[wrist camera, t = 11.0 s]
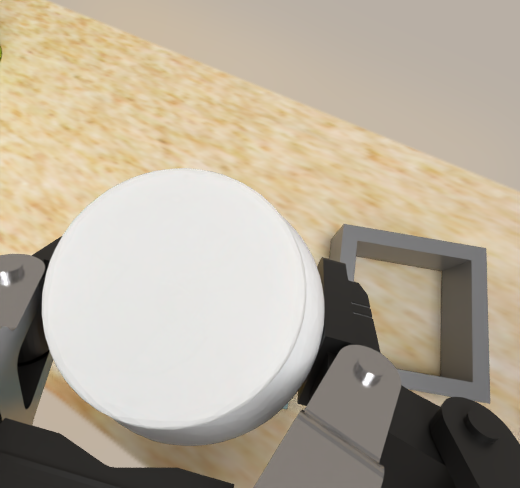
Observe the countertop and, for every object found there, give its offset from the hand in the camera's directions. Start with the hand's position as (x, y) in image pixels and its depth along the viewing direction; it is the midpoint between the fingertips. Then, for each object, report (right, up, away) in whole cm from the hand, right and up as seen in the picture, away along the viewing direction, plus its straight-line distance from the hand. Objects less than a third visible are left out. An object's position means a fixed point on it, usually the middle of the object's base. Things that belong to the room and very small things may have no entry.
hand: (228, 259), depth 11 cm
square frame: (+10, -5, +14) cm, 18 cm away
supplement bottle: (-1, -3, +4) cm, 5 cm away
